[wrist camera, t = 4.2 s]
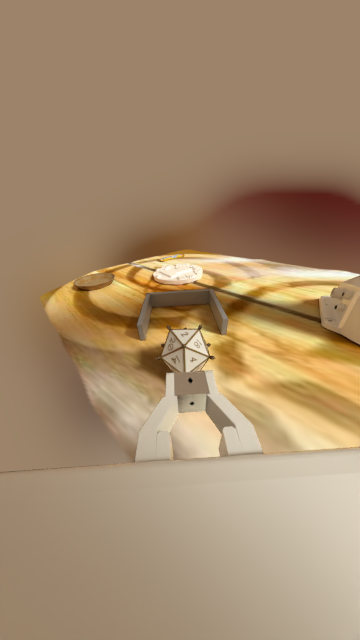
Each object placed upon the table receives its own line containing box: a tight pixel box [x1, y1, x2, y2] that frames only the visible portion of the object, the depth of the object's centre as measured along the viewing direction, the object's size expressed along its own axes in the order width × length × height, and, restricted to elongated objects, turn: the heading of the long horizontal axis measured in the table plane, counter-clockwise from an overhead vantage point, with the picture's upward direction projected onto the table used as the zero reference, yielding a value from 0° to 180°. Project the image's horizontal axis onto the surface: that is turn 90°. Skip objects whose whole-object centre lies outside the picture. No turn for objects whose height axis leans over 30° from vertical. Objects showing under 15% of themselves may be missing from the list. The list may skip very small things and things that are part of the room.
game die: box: [155, 324, 216, 373], centre depth 25 cm, size 9×8×10 cm
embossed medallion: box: [153, 264, 203, 285], centre depth 66 cm, size 20×20×3 cm
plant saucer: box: [73, 273, 115, 290], centre depth 63 cm, size 15×15×3 cm
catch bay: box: [137, 289, 228, 340], centre depth 39 cm, size 15×18×4 cm
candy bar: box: [157, 254, 184, 261], centre depth 92 cm, size 17×4×2 cm, turn 129°
